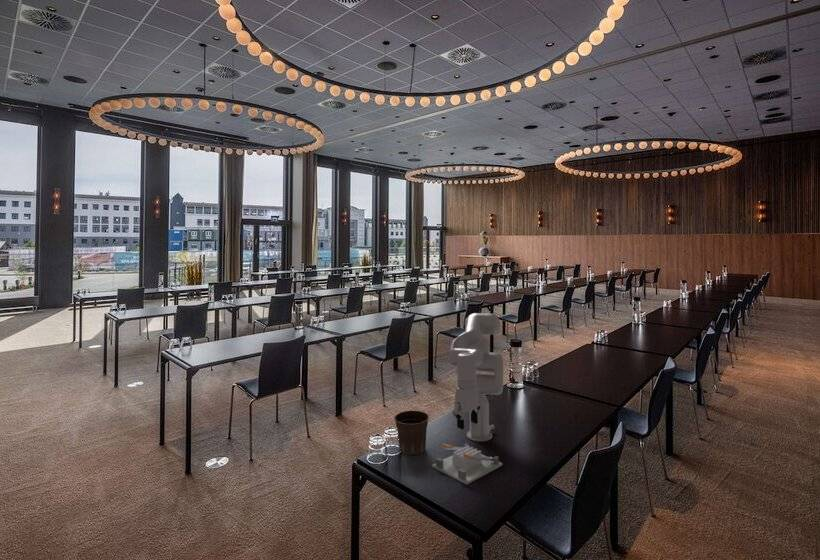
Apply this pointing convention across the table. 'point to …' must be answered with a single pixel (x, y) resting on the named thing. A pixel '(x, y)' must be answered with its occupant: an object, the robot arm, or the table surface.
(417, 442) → the plant pot
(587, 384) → the table surface
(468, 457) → the strap
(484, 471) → the cooler board
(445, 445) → the strap
